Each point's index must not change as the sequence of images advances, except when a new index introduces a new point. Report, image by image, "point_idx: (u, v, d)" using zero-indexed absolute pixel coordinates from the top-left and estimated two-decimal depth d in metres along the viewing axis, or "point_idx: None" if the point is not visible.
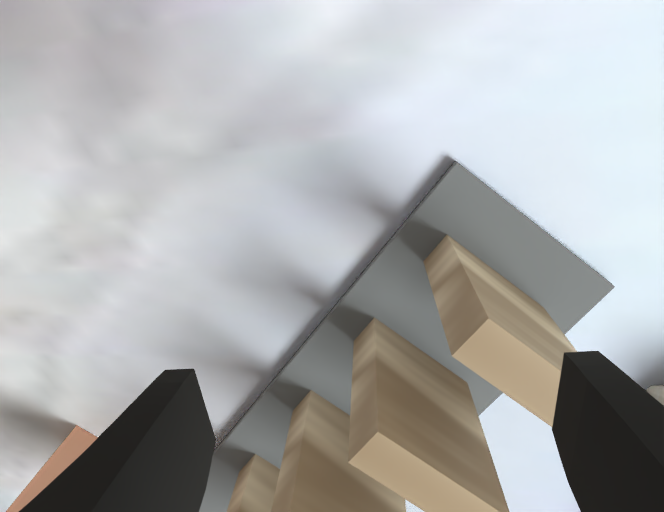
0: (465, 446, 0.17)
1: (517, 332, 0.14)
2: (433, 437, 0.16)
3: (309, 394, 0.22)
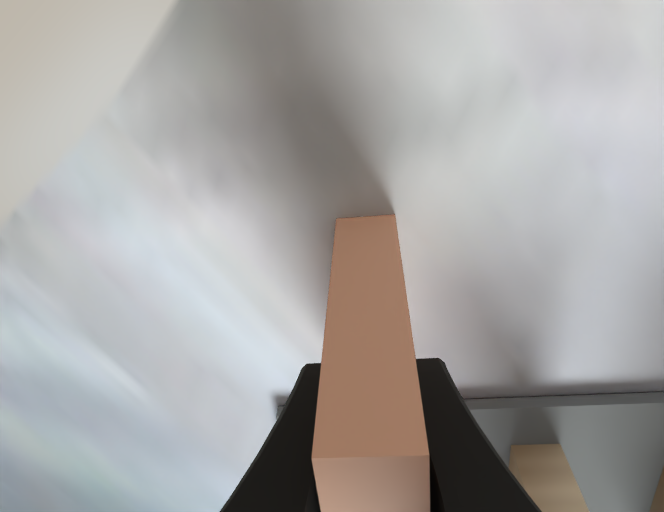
0: None
1: None
2: None
3: None
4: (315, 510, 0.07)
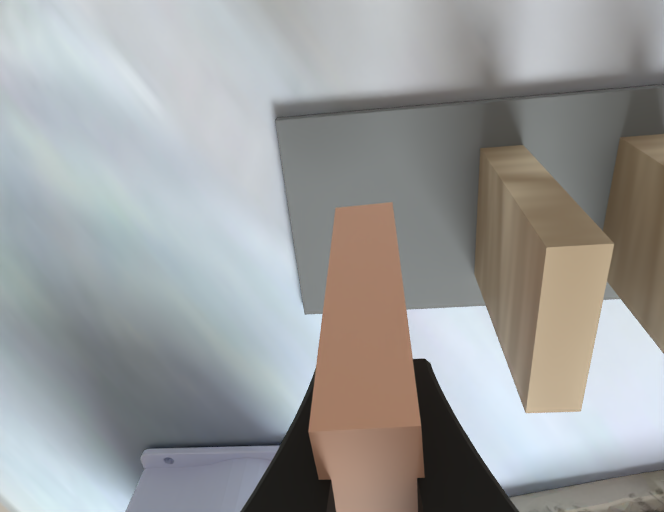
0: None
1: None
2: None
3: None
4: (334, 509, 0.07)
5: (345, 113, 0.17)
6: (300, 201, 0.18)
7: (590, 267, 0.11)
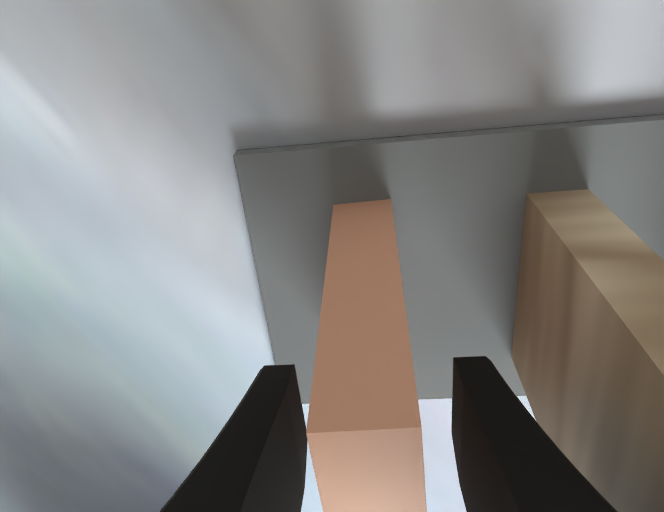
0: None
1: None
2: None
3: None
4: (257, 511, 0.07)
5: (334, 144, 0.12)
6: (273, 263, 0.13)
7: None
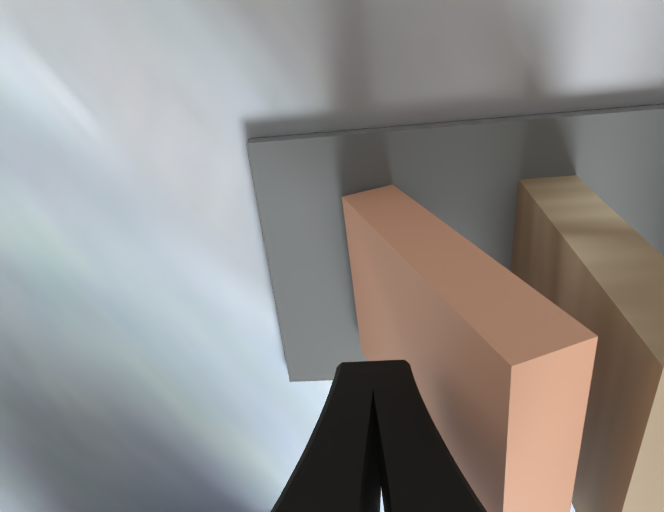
0: None
1: None
2: None
3: None
4: (364, 509, 0.07)
5: (339, 133, 0.13)
6: (281, 246, 0.14)
7: None
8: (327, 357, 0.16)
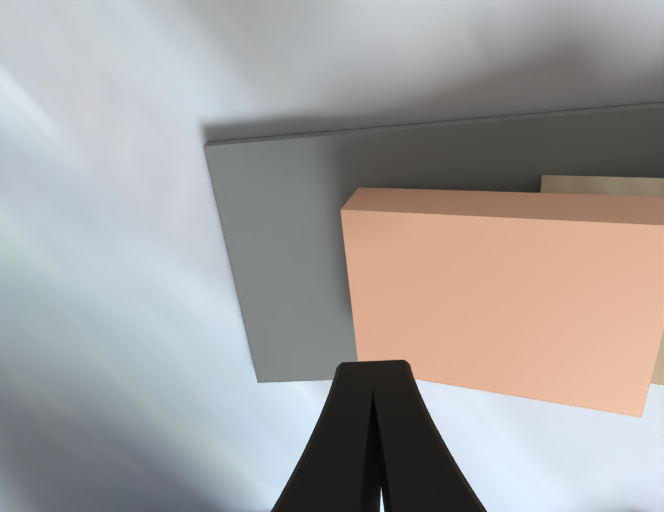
0: None
1: None
2: None
3: None
4: (364, 509, 0.07)
5: (296, 136, 0.13)
6: (243, 248, 0.14)
7: None
8: (293, 358, 0.16)
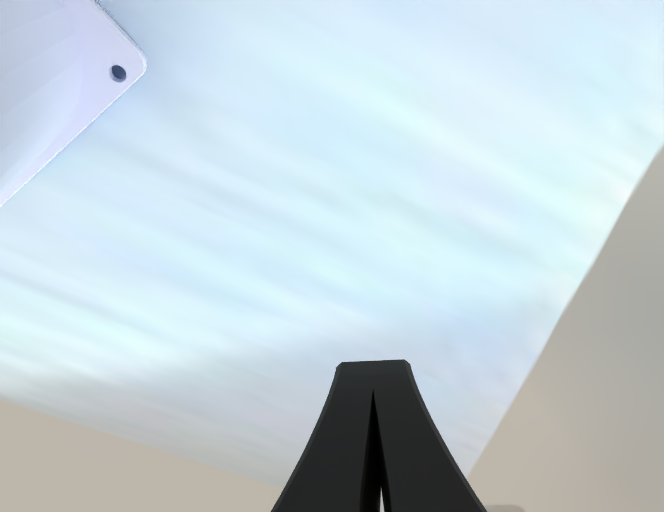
0: None
1: None
2: None
3: None
4: (364, 509, 0.07)
5: None
6: None
7: None
8: None
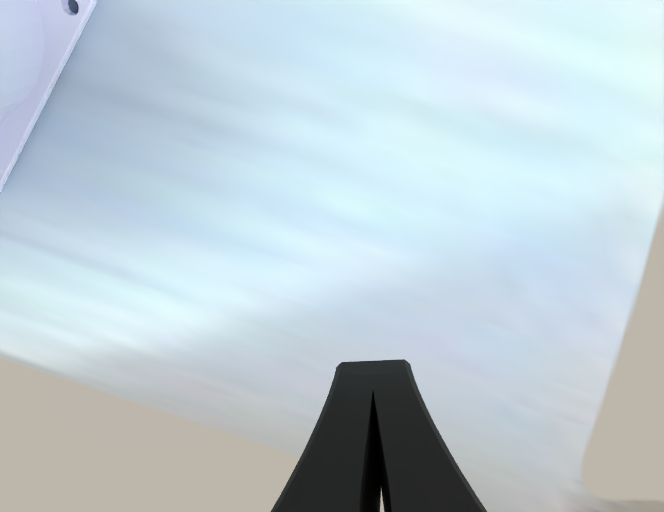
0: None
1: None
2: None
3: None
4: (364, 509, 0.07)
5: None
6: None
7: None
8: None
